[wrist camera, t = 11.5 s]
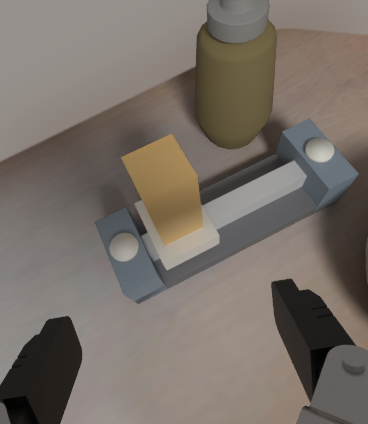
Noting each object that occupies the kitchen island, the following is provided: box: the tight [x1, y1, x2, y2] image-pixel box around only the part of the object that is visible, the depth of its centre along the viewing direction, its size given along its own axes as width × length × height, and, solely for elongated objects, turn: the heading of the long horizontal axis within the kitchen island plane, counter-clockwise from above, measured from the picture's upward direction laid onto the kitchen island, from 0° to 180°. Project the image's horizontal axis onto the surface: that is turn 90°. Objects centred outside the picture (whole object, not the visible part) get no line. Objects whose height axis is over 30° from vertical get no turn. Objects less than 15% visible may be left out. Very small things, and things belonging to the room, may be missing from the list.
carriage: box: [121, 134, 219, 270], centre depth 24 cm, size 5×6×12 cm
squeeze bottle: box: [195, 0, 277, 149], centre depth 28 cm, size 8×8×18 cm
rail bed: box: [95, 119, 359, 304], centre depth 29 cm, size 22×7×5 cm, turn 116°
